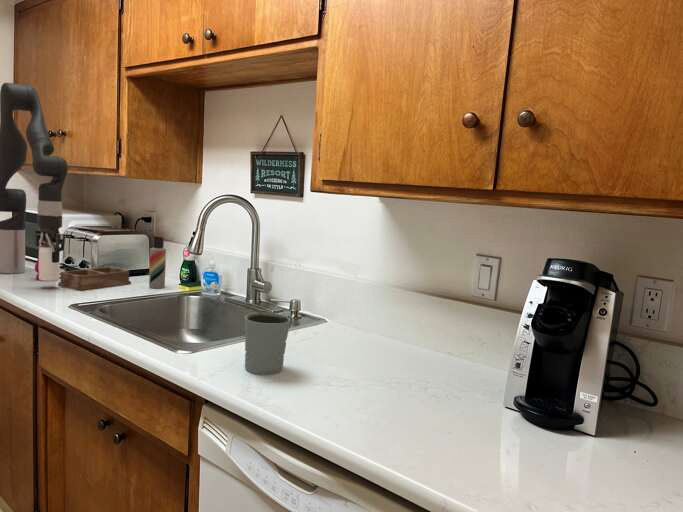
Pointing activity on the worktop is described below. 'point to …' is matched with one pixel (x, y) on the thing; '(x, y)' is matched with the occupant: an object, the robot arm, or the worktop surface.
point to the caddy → (94, 278)
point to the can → (48, 265)
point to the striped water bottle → (157, 263)
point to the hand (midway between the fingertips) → (49, 260)
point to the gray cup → (265, 342)
